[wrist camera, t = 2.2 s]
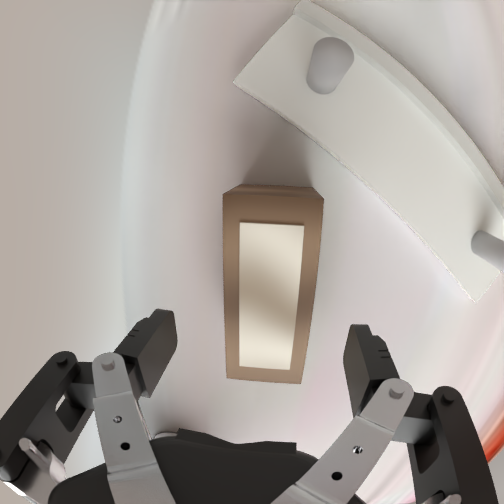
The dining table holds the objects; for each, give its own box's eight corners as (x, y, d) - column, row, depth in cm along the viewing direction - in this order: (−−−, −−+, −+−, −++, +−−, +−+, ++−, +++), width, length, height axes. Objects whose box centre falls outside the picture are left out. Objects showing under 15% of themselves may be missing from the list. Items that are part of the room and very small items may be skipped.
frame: (299, 334, 23) (301, 385, 17) (240, 330, 23) (226, 379, 18) (312, 187, 19) (324, 199, 13) (241, 184, 20) (222, 194, 14)
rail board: (468, 296, 20) (505, 333, 14) (236, 86, 17) (214, 55, 11) (514, 231, 17) (558, 254, 11) (302, 13, 15) (306, -35, 9)
